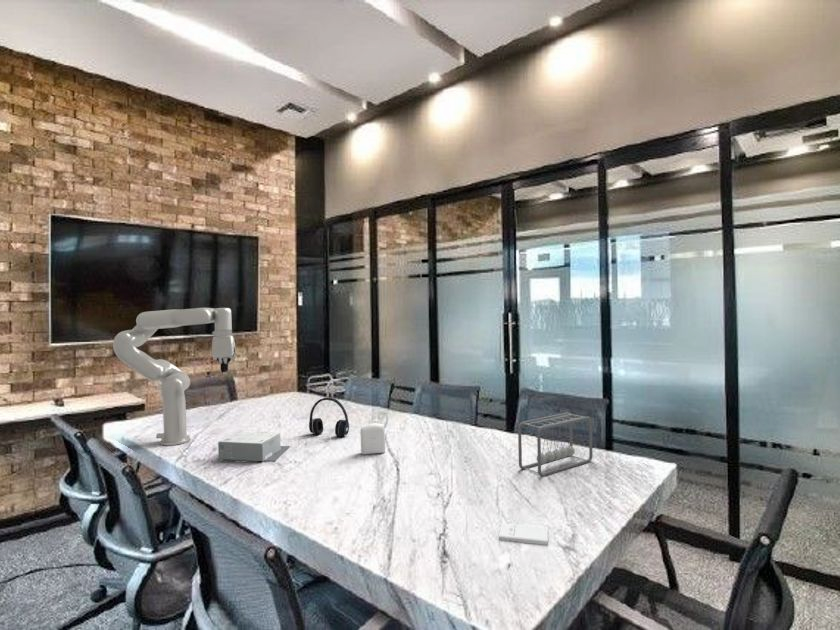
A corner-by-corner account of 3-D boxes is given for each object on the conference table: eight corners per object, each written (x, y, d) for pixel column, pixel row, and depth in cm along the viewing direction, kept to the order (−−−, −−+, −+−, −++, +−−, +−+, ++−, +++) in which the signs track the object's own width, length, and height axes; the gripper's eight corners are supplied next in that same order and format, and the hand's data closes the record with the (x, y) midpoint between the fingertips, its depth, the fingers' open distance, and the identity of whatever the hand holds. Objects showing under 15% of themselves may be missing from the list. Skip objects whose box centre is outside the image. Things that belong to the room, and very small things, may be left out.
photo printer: (361, 455, 196) (360, 425, 196) (360, 452, 200) (360, 423, 200) (385, 453, 198) (385, 424, 197) (384, 450, 202) (384, 421, 202)
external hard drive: (548, 547, 119) (498, 541, 123) (548, 532, 127) (501, 527, 131) (548, 541, 119) (498, 535, 123) (548, 526, 127) (501, 521, 131)
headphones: (307, 436, 227) (306, 398, 227) (314, 432, 234) (313, 395, 234) (344, 439, 221) (343, 400, 221) (350, 435, 228) (350, 397, 227)
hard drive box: (217, 460, 192) (262, 462, 188) (217, 441, 192) (261, 443, 188) (239, 448, 208) (281, 450, 204) (239, 431, 207) (280, 432, 203)
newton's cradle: (539, 478, 166) (538, 428, 166) (518, 470, 175) (517, 422, 174) (593, 461, 183) (592, 415, 182) (571, 454, 191) (570, 411, 191)
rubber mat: (221, 462, 191) (221, 461, 191) (241, 447, 211) (241, 446, 211) (275, 461, 190) (275, 460, 190) (290, 446, 210) (290, 445, 210)
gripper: (204, 334, 222) (205, 373, 222) (235, 333, 221) (236, 372, 221) (211, 333, 229) (212, 371, 229) (242, 332, 229) (243, 370, 229)
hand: (224, 371), depth 225 cm, fingers closed
